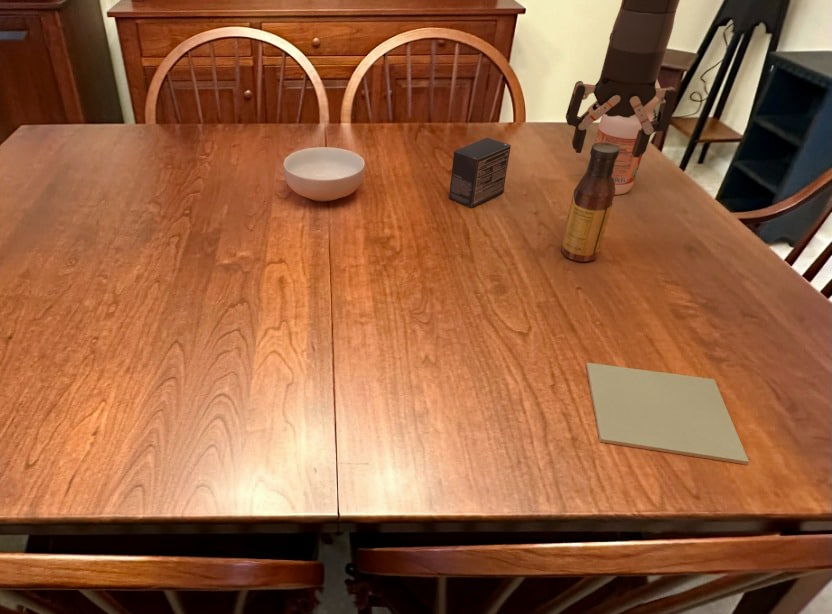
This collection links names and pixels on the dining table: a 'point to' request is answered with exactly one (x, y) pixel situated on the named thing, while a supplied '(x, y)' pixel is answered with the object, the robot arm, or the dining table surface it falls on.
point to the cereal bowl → (324, 172)
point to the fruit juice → (624, 144)
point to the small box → (479, 172)
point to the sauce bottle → (591, 205)
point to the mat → (663, 413)
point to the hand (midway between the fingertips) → (606, 153)
